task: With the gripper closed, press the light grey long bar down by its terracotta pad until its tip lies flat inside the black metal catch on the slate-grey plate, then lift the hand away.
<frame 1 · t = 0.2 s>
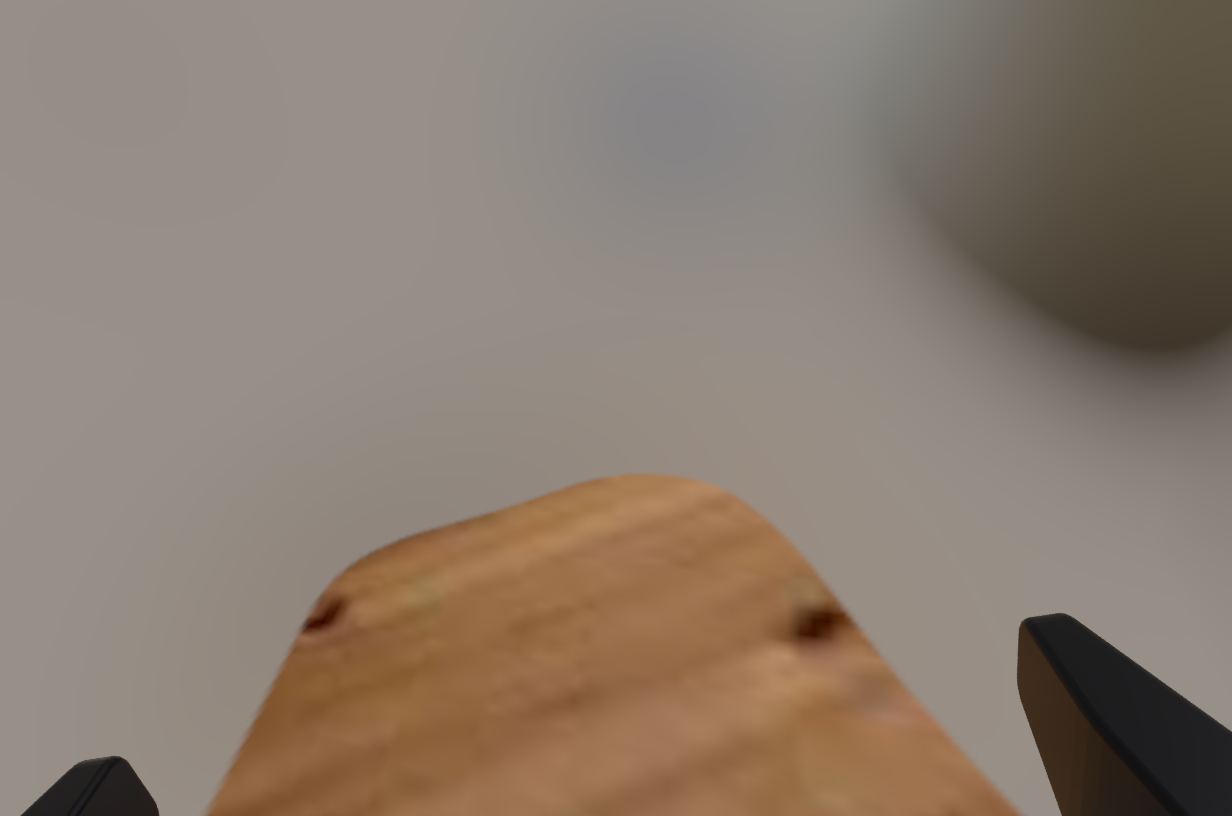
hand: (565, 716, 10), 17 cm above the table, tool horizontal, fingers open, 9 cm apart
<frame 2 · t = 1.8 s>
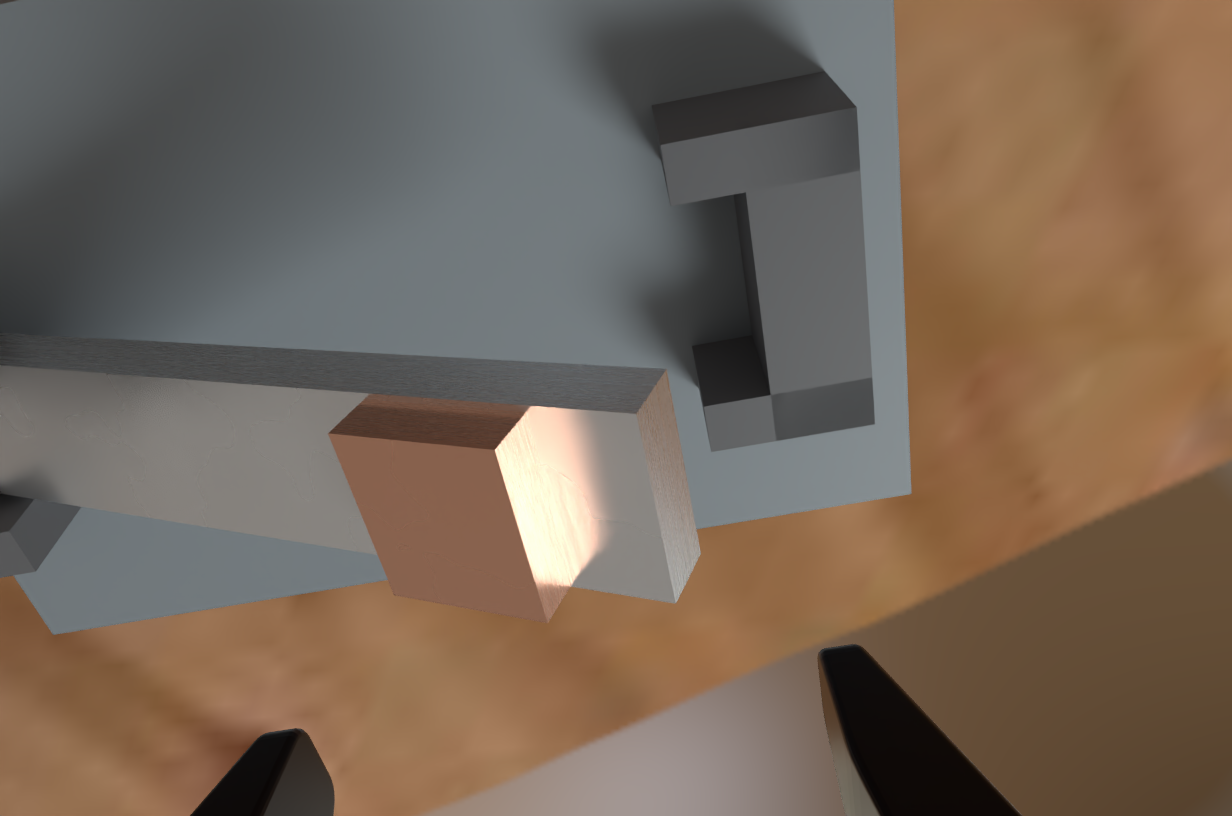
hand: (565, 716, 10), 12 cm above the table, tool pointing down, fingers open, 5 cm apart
light grey long bar: (218, 450, 16), point 6 cm above the table, hinge at 25.0°
base plate: (392, 280, 20), on the table
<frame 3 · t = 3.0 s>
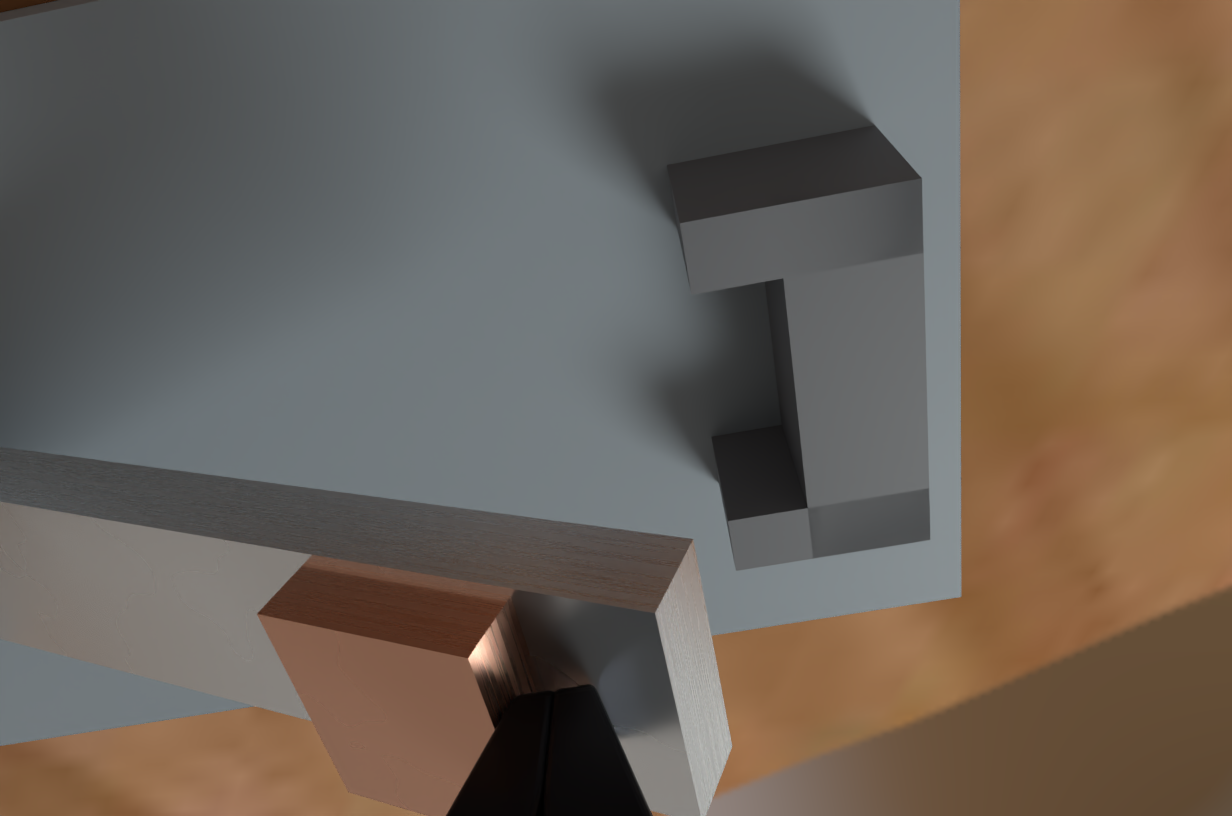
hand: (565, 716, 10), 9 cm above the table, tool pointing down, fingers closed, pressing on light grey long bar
light grey long bar: (140, 591, 13), point 6 cm above the table, hinge at 25.0°, touching gripper
base plate: (363, 357, 17), on the table
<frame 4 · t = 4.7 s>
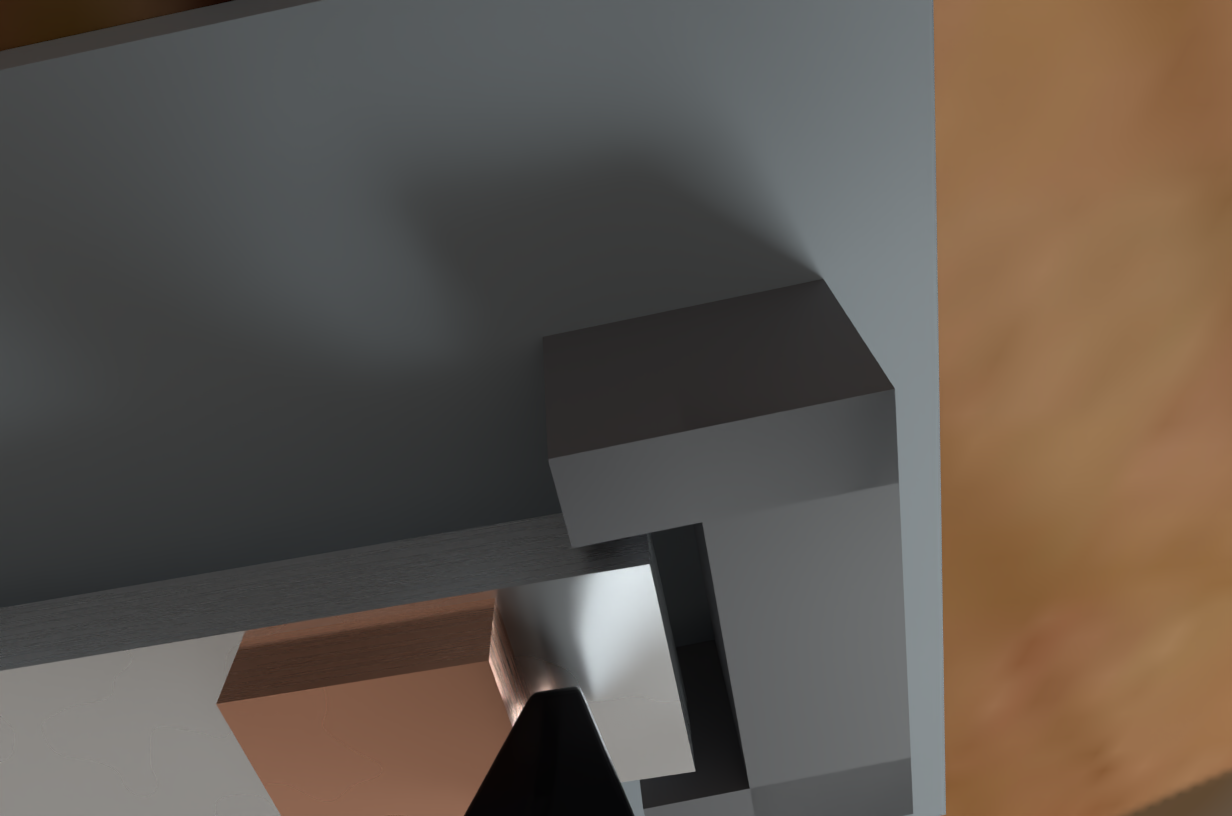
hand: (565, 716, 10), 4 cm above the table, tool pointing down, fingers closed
base plate: (167, 560, 13), on the table
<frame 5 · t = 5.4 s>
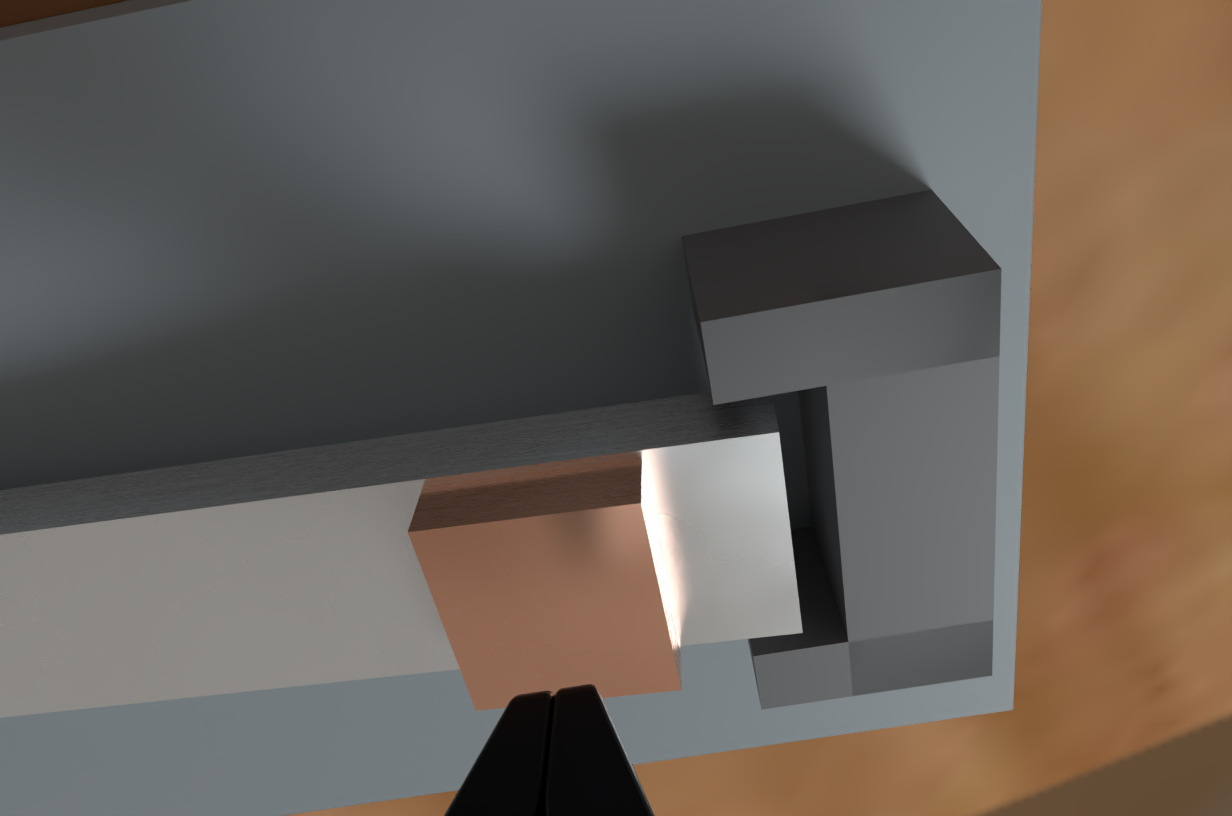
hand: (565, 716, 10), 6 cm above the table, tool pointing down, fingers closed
light grey long bar: (182, 598, 13), point 3 cm above the table, hinge at 3.6°
base plate: (327, 442, 15), on the table
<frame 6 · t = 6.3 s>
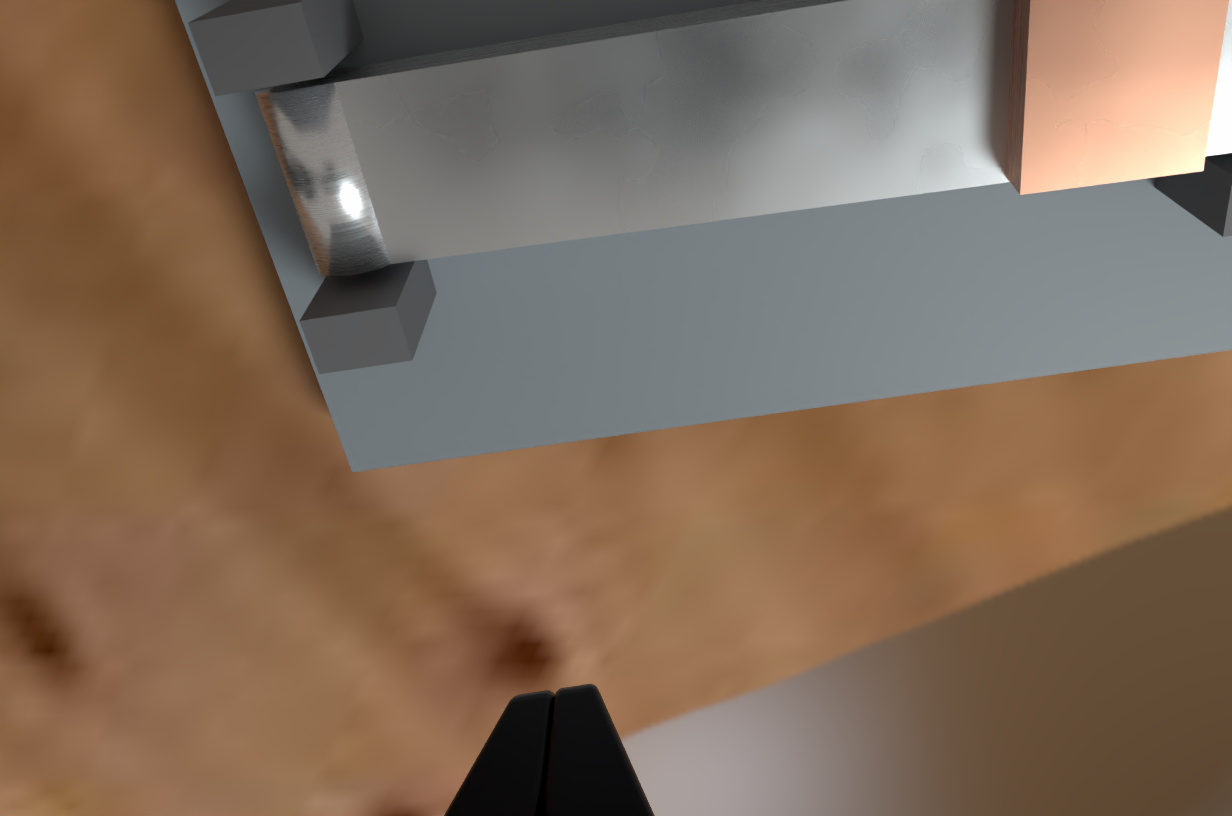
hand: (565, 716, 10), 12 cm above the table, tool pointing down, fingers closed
light grey long bar: (755, 115, 15), point 3 cm above the table, hinge at 3.6°
base plate: (800, 56, 18), on the table
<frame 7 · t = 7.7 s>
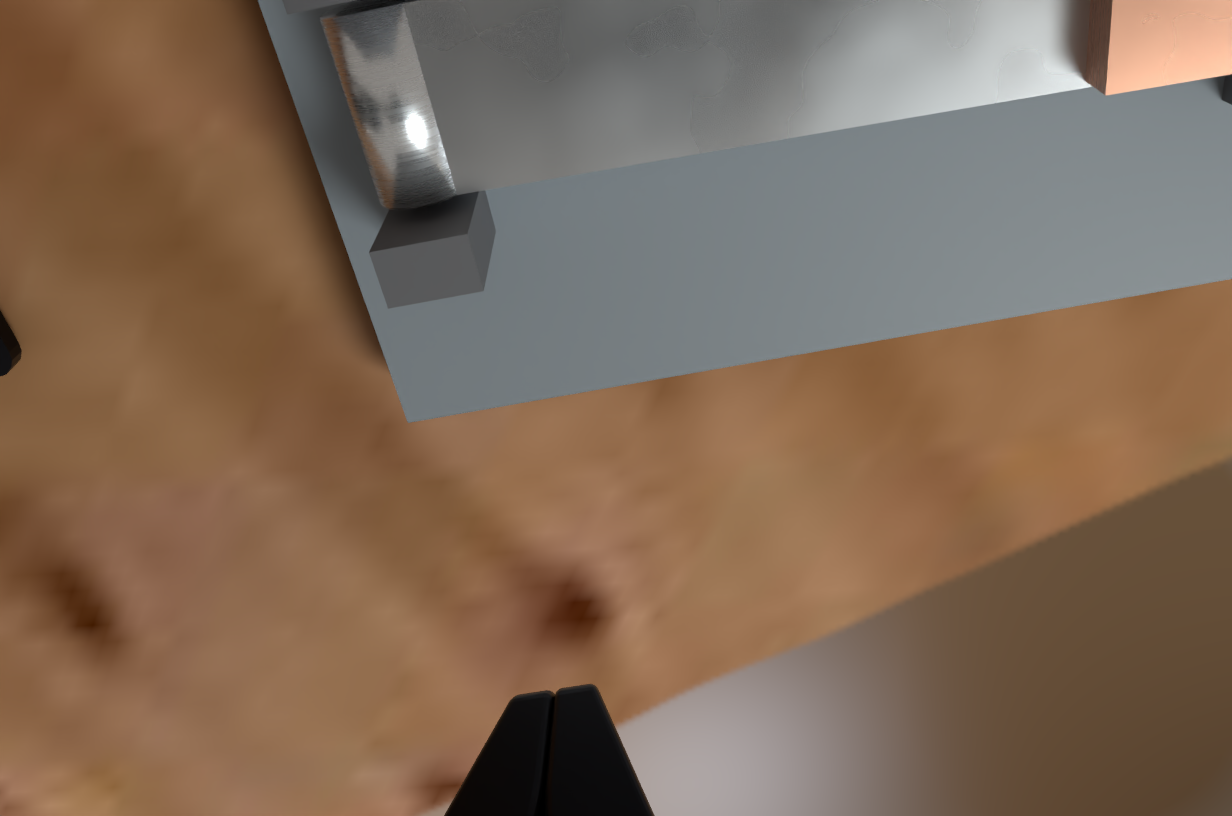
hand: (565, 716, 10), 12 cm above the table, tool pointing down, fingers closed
light grey long bar: (831, 26, 15), point 3 cm above the table, hinge at 3.6°
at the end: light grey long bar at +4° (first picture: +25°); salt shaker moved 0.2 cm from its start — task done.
